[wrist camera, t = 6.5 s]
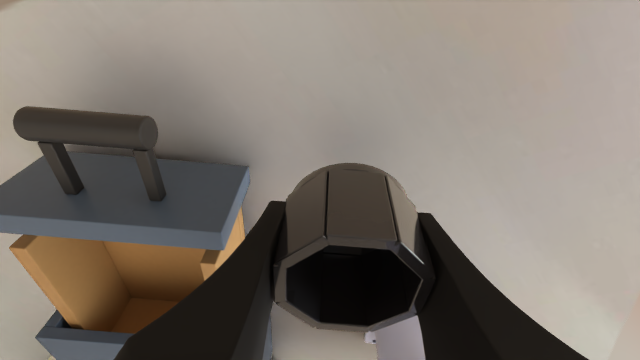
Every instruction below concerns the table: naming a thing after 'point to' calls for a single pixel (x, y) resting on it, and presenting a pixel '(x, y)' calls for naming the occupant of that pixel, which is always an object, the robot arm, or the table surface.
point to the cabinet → (95, 341)
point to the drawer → (117, 218)
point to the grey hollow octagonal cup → (351, 251)
